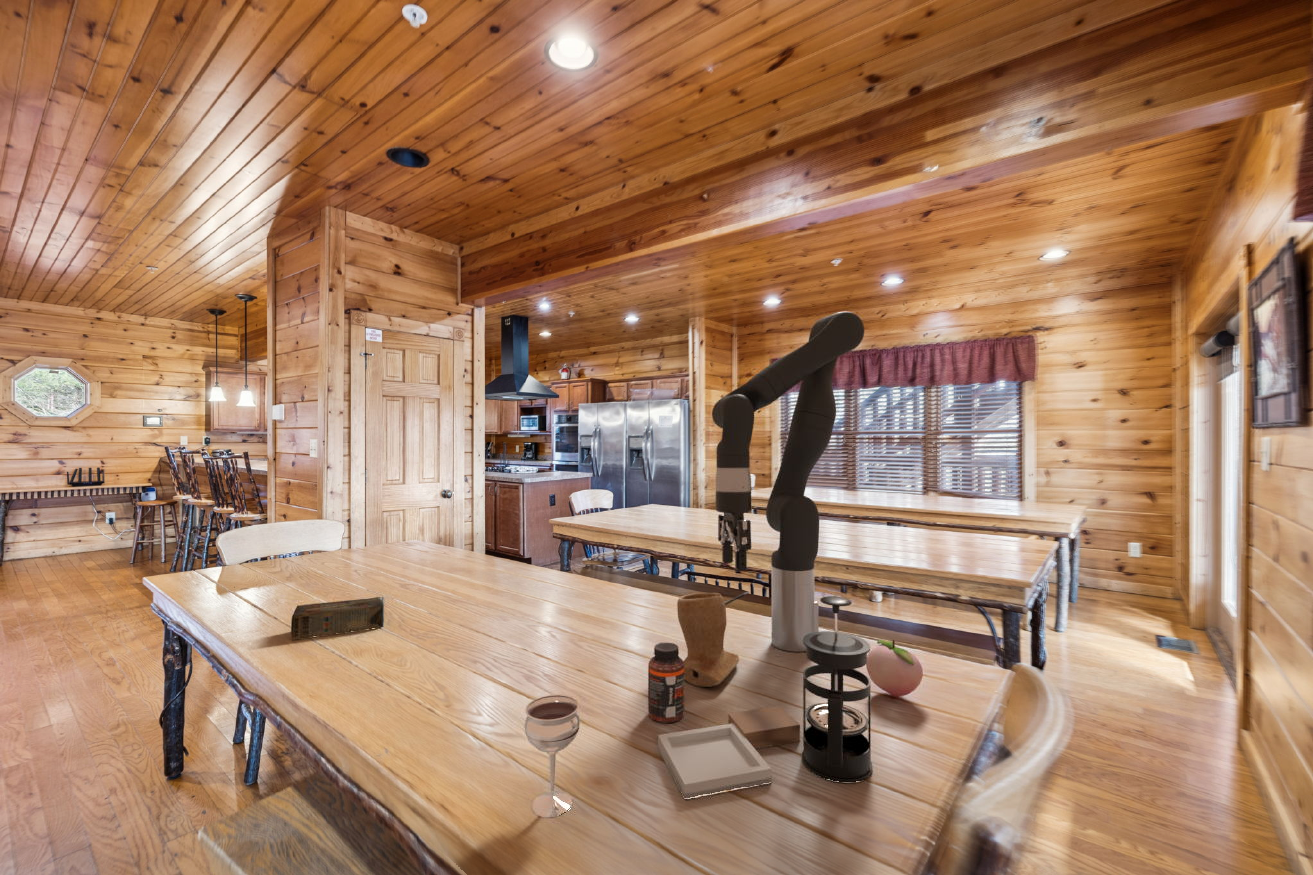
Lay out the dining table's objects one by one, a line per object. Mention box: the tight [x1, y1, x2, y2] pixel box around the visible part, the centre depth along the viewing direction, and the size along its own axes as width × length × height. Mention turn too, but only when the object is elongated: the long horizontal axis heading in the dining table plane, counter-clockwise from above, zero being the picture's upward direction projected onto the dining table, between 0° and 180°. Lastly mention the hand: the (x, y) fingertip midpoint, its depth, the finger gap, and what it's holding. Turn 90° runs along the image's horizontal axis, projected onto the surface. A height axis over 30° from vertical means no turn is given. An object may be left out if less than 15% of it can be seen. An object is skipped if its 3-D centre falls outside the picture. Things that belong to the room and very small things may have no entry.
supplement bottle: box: [647, 642, 685, 724], centre depth 90 cm, size 6×6×11 cm
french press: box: [801, 595, 874, 782], centre depth 76 cm, size 12×9×23 cm
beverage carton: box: [290, 596, 386, 641], centre depth 131 cm, size 8×19×7 cm, turn 117°
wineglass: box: [524, 694, 581, 818], centre depth 68 cm, size 7×7×12 cm
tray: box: [657, 723, 772, 799], centre depth 76 cm, size 12×12×2 cm
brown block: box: [727, 705, 801, 750], centre depth 84 cm, size 9×6×2 cm, turn 106°
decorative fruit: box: [865, 639, 924, 698], centre depth 96 cm, size 9×8×10 cm
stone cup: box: [676, 592, 740, 688], centre depth 107 cm, size 15×12×15 cm
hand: (734, 566), depth 116 cm, fingers open, 8 cm apart
